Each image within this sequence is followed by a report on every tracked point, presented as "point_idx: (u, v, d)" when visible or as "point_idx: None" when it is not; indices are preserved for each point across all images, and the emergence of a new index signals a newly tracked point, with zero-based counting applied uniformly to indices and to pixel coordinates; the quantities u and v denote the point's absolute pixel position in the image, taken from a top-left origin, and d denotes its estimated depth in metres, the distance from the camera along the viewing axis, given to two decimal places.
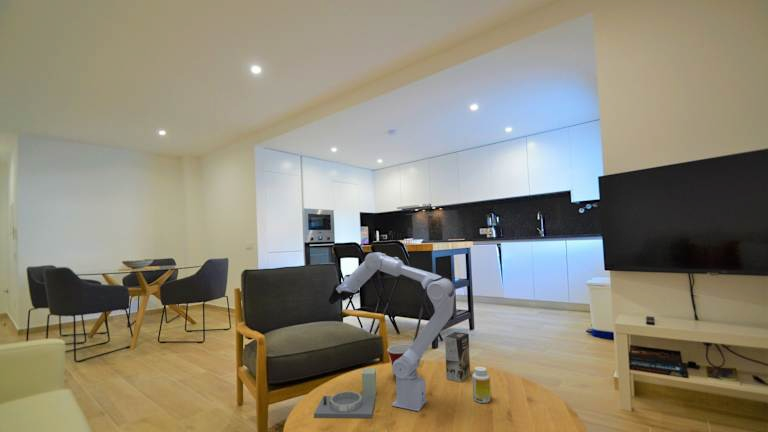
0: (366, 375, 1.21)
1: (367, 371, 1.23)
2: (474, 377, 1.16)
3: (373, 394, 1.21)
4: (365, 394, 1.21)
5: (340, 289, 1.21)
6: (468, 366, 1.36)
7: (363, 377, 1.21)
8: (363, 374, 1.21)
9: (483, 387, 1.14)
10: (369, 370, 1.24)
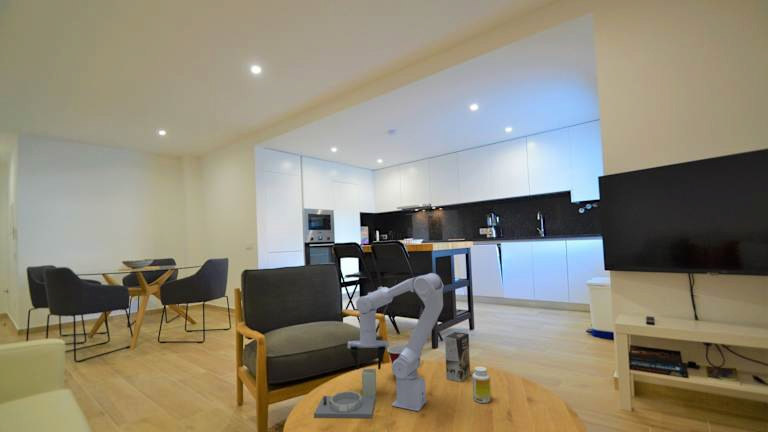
0: (366, 375, 1.21)
1: (367, 371, 1.23)
2: (474, 377, 1.16)
3: (373, 394, 1.21)
4: (365, 394, 1.21)
5: None
6: (468, 366, 1.36)
7: (363, 377, 1.21)
8: (363, 374, 1.21)
9: (483, 387, 1.14)
10: (369, 370, 1.24)
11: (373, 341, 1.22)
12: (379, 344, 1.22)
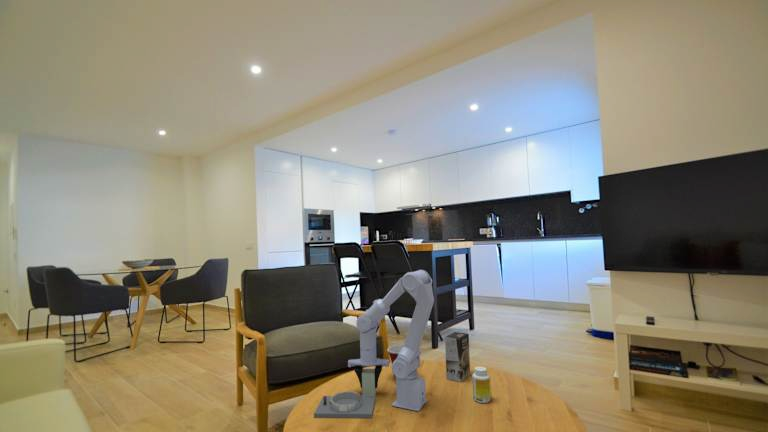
0: (366, 375, 1.21)
1: (367, 371, 1.23)
2: (474, 377, 1.16)
3: (373, 394, 1.21)
4: (365, 394, 1.21)
5: (348, 362, 1.24)
6: (468, 366, 1.36)
7: (363, 377, 1.21)
8: (363, 374, 1.21)
9: (483, 387, 1.14)
10: (369, 370, 1.24)
11: (374, 360, 1.22)
12: (380, 363, 1.22)
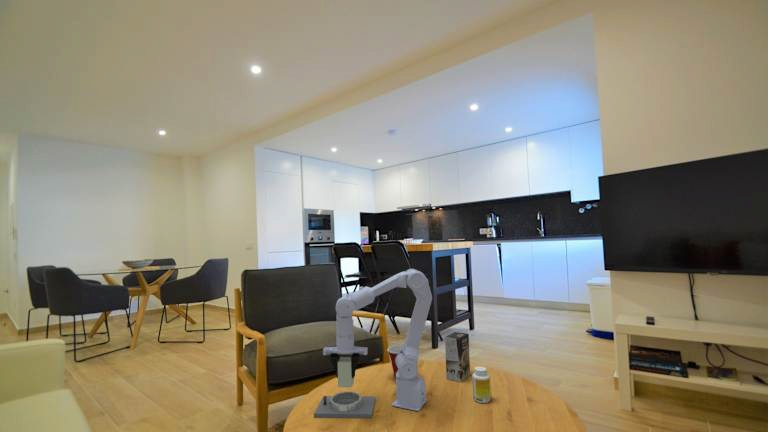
0: (342, 364, 1.12)
1: (344, 359, 1.14)
2: (474, 377, 1.16)
3: (350, 384, 1.12)
4: (341, 384, 1.12)
5: None
6: (468, 366, 1.36)
7: (339, 366, 1.12)
8: (339, 362, 1.12)
9: (483, 387, 1.14)
10: (346, 359, 1.15)
11: (350, 347, 1.12)
12: (357, 351, 1.12)
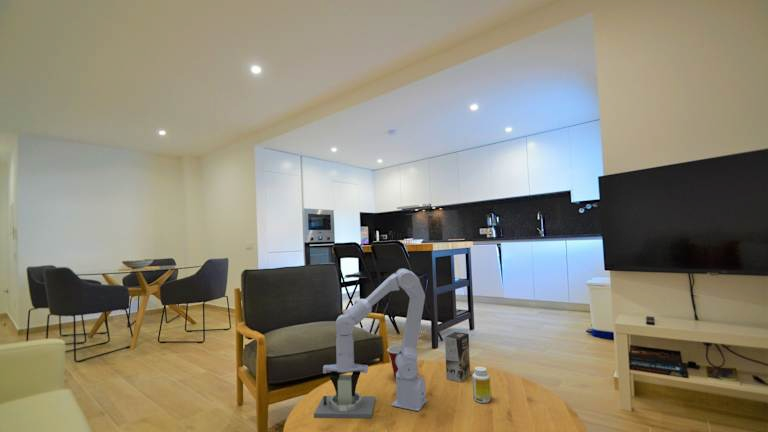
0: (342, 382, 1.12)
1: (344, 377, 1.14)
2: (474, 377, 1.16)
3: (350, 403, 1.11)
4: (341, 403, 1.11)
5: None
6: (468, 366, 1.36)
7: (339, 384, 1.12)
8: (339, 381, 1.12)
9: (483, 387, 1.14)
10: (346, 377, 1.14)
11: (350, 366, 1.12)
12: (357, 369, 1.12)
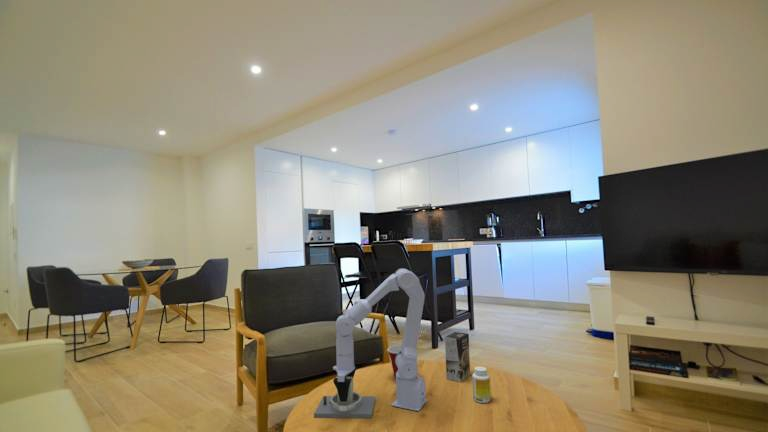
0: (351, 382, 1.13)
1: None
2: (474, 377, 1.16)
3: (353, 399, 1.15)
4: None
5: (342, 377, 1.07)
6: (468, 366, 1.36)
7: (350, 385, 1.12)
8: (350, 382, 1.12)
9: (483, 387, 1.14)
10: None
11: None
12: None
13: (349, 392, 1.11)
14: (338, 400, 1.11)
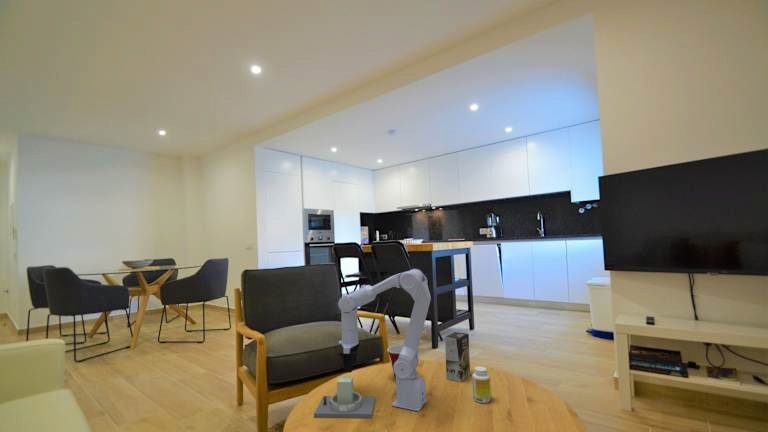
0: (351, 382, 1.13)
1: (345, 379, 1.13)
2: (474, 377, 1.16)
3: (353, 399, 1.15)
4: None
5: (347, 349, 1.16)
6: (468, 366, 1.36)
7: (350, 385, 1.12)
8: (350, 382, 1.12)
9: (483, 387, 1.14)
10: (343, 379, 1.14)
11: None
12: None
13: (349, 392, 1.11)
14: (338, 400, 1.11)
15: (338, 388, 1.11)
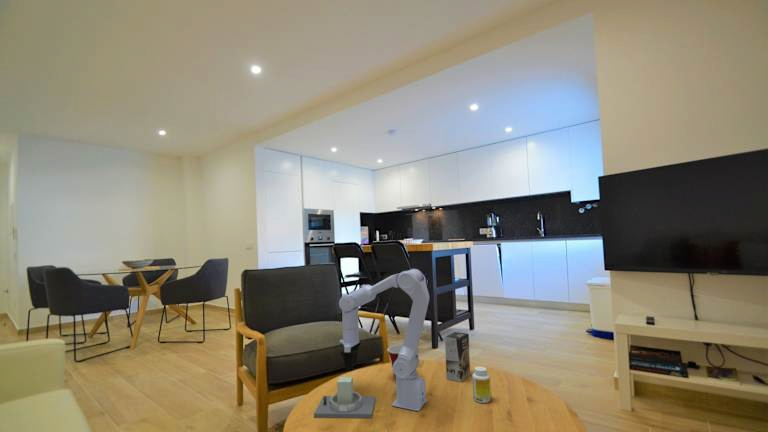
0: (351, 382, 1.13)
1: (345, 379, 1.13)
2: (474, 377, 1.16)
3: (353, 399, 1.15)
4: None
5: (348, 348, 1.18)
6: (468, 366, 1.36)
7: (350, 385, 1.12)
8: (350, 382, 1.12)
9: (483, 387, 1.14)
10: (343, 379, 1.14)
11: None
12: None
13: (349, 392, 1.11)
14: (338, 400, 1.11)
15: (338, 388, 1.11)
